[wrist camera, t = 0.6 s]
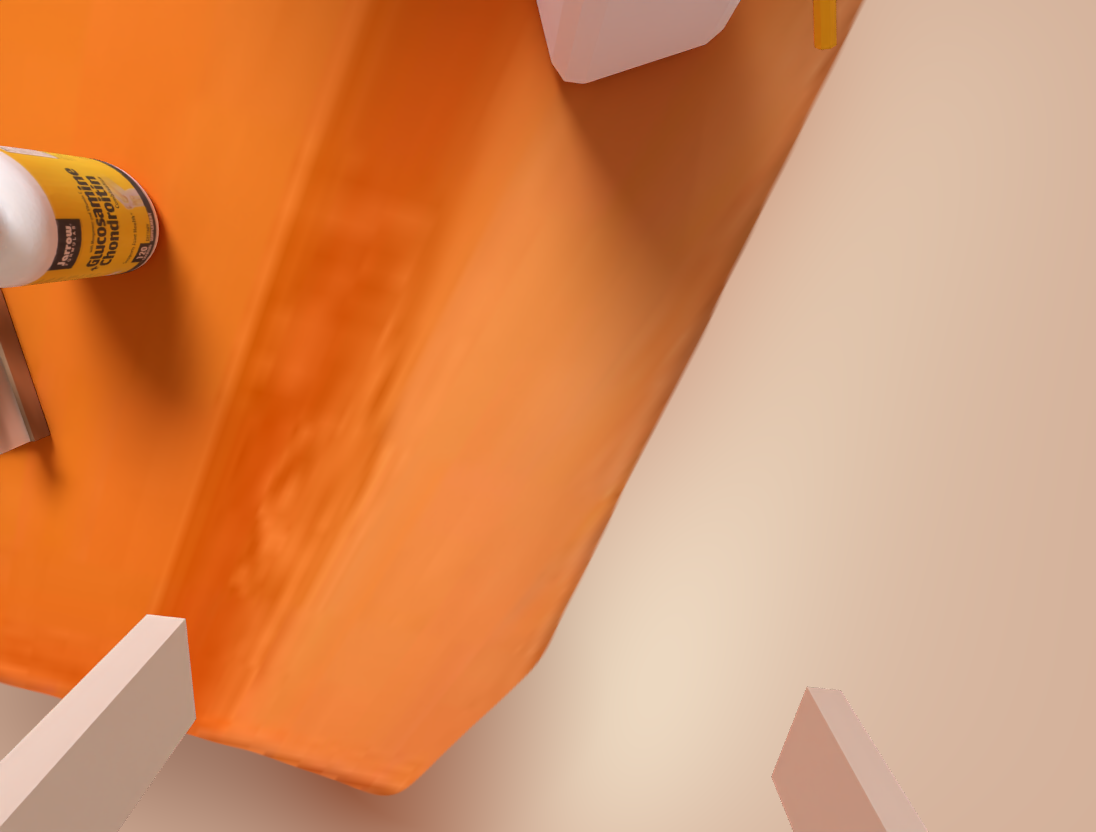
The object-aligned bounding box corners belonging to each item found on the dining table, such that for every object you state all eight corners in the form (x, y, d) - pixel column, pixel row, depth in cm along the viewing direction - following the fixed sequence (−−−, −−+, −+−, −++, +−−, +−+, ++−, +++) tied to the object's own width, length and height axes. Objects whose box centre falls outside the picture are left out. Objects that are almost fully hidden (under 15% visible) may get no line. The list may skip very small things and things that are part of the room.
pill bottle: (155, 289, 35) (-25, 322, 24) (48, 247, 34) (-190, 261, 23) (173, 186, 33) (-13, 171, 22) (60, 139, 32) (-194, 98, 21)
